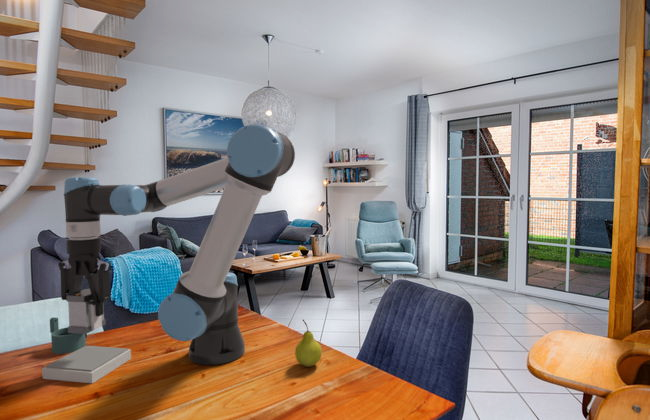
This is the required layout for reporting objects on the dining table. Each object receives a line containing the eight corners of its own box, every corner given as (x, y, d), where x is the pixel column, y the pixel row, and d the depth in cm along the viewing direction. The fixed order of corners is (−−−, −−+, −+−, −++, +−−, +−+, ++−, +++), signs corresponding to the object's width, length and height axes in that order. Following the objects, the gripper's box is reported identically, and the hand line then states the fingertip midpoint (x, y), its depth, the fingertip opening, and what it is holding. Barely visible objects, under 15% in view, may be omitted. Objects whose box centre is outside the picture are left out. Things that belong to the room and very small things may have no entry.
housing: (89, 323, 107) (87, 287, 106) (105, 324, 106) (104, 288, 105) (67, 332, 100) (66, 294, 100) (85, 334, 99) (83, 295, 99)
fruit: (327, 365, 104) (326, 320, 104) (309, 374, 99) (308, 327, 99) (308, 357, 109) (308, 314, 108) (290, 366, 104) (289, 320, 103)
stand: (131, 358, 109) (130, 347, 109) (92, 383, 95) (91, 371, 95) (86, 355, 112) (86, 344, 112) (42, 378, 98) (42, 366, 98)
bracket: (87, 349, 116) (86, 319, 115) (48, 356, 111) (47, 325, 111) (87, 340, 123) (86, 311, 123) (51, 346, 119) (50, 316, 118)
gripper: (40, 239, 100) (44, 330, 101) (104, 240, 96) (107, 334, 98) (65, 235, 107) (68, 320, 108) (125, 236, 104) (127, 324, 105)
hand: (87, 327), depth 103 cm, fingers closed on housing, 5 cm apart
